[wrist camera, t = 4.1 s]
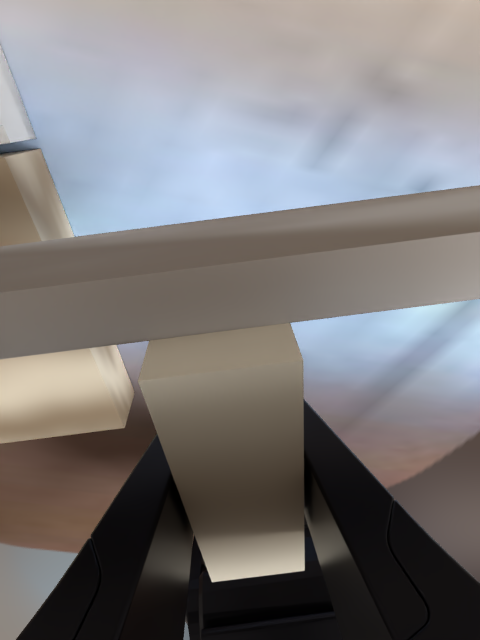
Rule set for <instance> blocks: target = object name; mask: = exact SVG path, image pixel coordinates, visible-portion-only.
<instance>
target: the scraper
mask: <svg viewBox="0 0 480 640" xmlns="http://www.w3.org/2000/svg"><path fill="white" fill-rule="evenodd" d="M474 299H480V185H479V186H471V187H463V188H455V189H447V190H439V191H431V192H424V193H416V194H408V195H400V196H392V197H384V198H376V199H369V200H361V201H353V202H345V203H337V204H329V205H321V206H314V207H306V208H298V209H290V210H282V211H274V212H267V213H259V214H251V215H243V216H235V217H227V218H219V219H212V220H204V221H196V222H188V223H180V224H172V225H164V226H157V227H149V228H141V229H133V230H125V231H117V232H109V233H102V234H94V235H86V236H78V237H70V238H62V239H55V240H47V241H39V242H31V243H23V244H15V245H7V246H0V359H8V358H16V357H23V356H31V355H39V354H47V353H55V352H63V351H71V350H79V349H87V348H95V347H102V346H110V345H118V344H126V343H134V342H142V341H149V343H148V347H147V350H146V354H145V358H144V361H143V365H142V368H141V372H140V375H139V379H138V383H139V386H140V388H141V391H142V394H143V396H144V399H145V402H146V405H147V407H148V410H149V413H150V415H151V418H152V421H153V424H154V426H155V429H156V432H157V434H158V437H159V440H160V443H161V445H162V448H163V451H164V453H165V456H166V459H167V462H168V464H169V467H170V470H171V472H172V475H173V478H174V481H175V483H176V486H177V489H178V491H179V494H180V497H181V500H182V502H183V505H184V508H185V511H186V513H187V516H188V519H189V521H190V524H191V527H192V530H193V532H194V535H195V538H196V540H197V543H198V546H199V549H200V551H201V554H202V557H203V559H204V562H205V565H206V568H207V570H208V573H209V576H210V578H211V581H212V582H218V581H226V580H234V579H242V578H250V577H259V576H267V575H275V574H283V573H291V572H299V571H305V546H304V401H303V358H302V355H301V353H300V350H299V347H298V344H297V341H296V339H295V336H294V333H293V330H292V327H291V324H290V323H292V322H300V321H308V320H316V319H324V318H332V317H339V316H347V315H355V314H363V313H371V312H379V311H387V310H395V309H403V308H411V307H419V306H426V305H434V304H442V303H450V302H458V301H466V300H474Z"/></svg>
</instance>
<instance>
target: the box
mask: <svg viewBox="0 0 480 640" xmlns="http://www.w3.org/2000/svg"><path fill="white" fill-rule="evenodd" d="M30 139H36V136H35V133H34V131H33V128H32V126H31V123H30V120H29V118H28V115H27V113H26V110H25V107H24V105H23V102H22V100H21V97H20V95H19V92H18V89H17V87H16V84H15V82H14V79H13V76H12V74H11V71H10V69H9V66H8V63H7V61H6V58H5V56H4V53H3V51H2V48H1V45H0V144H6V143H13V142H19V141H25V140H30Z"/></svg>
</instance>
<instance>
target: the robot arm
mask: <svg viewBox="0 0 480 640" xmlns="http://www.w3.org/2000/svg"><path fill="white" fill-rule="evenodd" d="M303 401H304V546H305V571H299V572H291V573H283V574H275V575H267V576H259V577H250V578H242V579H234V580H226V581H218V582H212V581H211V578H210V576H209V573H208V570H207V568H206V565H205V562H204V559H203V557H202V554H201V551H200V549H199V546H198V543H197V540H196V538H195V535H194V539H193V533H194V532H193V530H192V527H191V524H190V521H189V519H188V516H187V513H186V511H185V508H184V505H183V502H182V500H181V497H180V494H179V491H178V489H177V486H176V483H175V481H174V478H173V475H172V472H171V470H170V467H169V464H168V462H167V459H166V456H165V453H164V451H163V448H162V445H161V443H160V440H159V437H158V434H156V436H155V437H154V439H153V440H152V442H151V443H150V445H149V446H148V448H147V449H146V451H145V452H144V454H143V456H142V457H141V459H140V460H139V462H138V463H137V465H136V466H135V468H134V469H133V471H132V472H131V474H130V475H129V477H128V479H127V480H126V482H125V483H124V485H123V486H122V488H121V489H120V491H119V492H118V494H117V495H116V497H115V498H114V500H113V501H112V503H111V505H110V506H109V508H108V509H107V511H106V512H105V514H104V515H103V517H102V518H101V520H100V521H99V523H98V524H97V526H96V528H95V529H94V531H93V532H92V534H91V538H89V539H87V541H86V543H85V544H84V546H83V547H82V549H81V550H80V552H79V553H78V555H77V556H76V558H75V559H74V561H73V562H72V564H71V565H70V567H69V568H68V570H67V571H66V573H65V574H64V575H63V577H62V578H61V580H60V581H59V583H58V584H57V586H56V587H55V588H54V590H53V591H52V592H51V594H50V595H49V596H48V598H47V599H46V600H45V602H44V603H43V604H42V606H41V607H40V609H39V610H38V611H37V613H36V614H35V615H34V617H33V618H32V619H31V621H30V622H29V623H28V624H27V626H26V627H25V628H24V630H23V631H22V632H21V634H20V635H19V636H18V638H17V639H16V640H183V637H184V627H185V622H186V623H187V625H188V629H189V636H190V640H480V582H479V581H477V580H476V579H475V578H474V577H473V576H472V575H471V574H470V573H469V572H468V571H466V570H465V569H464V568H463V567H462V566H461V565H460V564H459V563H458V562H457V561H456V560H455V559H454V558H452V556H451V555H449V554H448V553H447V552H446V551H445V550H444V549H443V548H442V547H441V546H440V545H439V544H438V543H437V542H436V541H435V540H434V539H433V538H432V537H431V536H430V535H429V534H428V533H427V532H426V531H425V530H424V529H423V528H422V527H421V526H420V525H419V524H418V523H417V522H416V521H415V520H414V519H413V518H412V517H411V515H410V514H409V513H408V512H407V511H406V510H405V509H404V508H403V507H402V506H401V504H400V503H399V502H398V501H397V500H394V497H393V496H392V495H391V494H390V493H389V492H388V490H387V489H386V488H385V487H384V486H383V485H382V484H381V483H380V482H379V481H378V480H377V478H376V477H375V476H374V475H373V474H372V473H371V472H370V471H369V470H368V469H367V468H366V466H365V465H364V464H363V463H362V462H361V461H360V460H359V459H358V458H357V457H356V456H355V454H354V453H353V452H352V451H351V450H350V449H349V448H348V447H347V446H346V445H345V444H344V442H343V441H342V440H341V439H340V438H339V437H338V436H337V435H336V434H335V433H334V432H333V430H332V429H331V428H330V427H329V426H328V425H327V424H326V423H325V422H324V421H323V420H322V418H321V417H320V416H319V415H318V414H317V413H316V412H315V411H314V410H313V409H312V408H311V406H310V405H309V404H308V403H307V402H306V401H305V400H304V399H303ZM192 543H193V546H192Z"/></svg>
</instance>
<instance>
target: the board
mask: <svg viewBox="0 0 480 640" xmlns="http://www.w3.org/2000/svg"><path fill="white" fill-rule="evenodd" d="M70 237H74V234H73V232H72V229H71V226H70V224H69V221H68V219H67V216H66V214H65V211H64V208H63V206H62V203H61V201H60V198H59V195H58V193H57V190H56V188H55V185H54V182H53V180H52V177H51V175H50V172H49V170H48V167H47V164H46V162H45V159H44V157H43V154H42V151H41V149H34V150H26V151H18V152H11V153H3V154H0V246H7V245H15V244H23V243H31V242H39V241H47V240H55V239H62V238H70ZM134 393H135V392H134V389H133V387H132V384H131V382H130V379H129V377H128V374H127V371H126V369H125V366H124V364H123V361H122V358H121V356H120V353H119V351H118V348H117V345H110V346H102V347H95V348H87V349H79V350H71V351H63V352H55V353H47V354H39V355H31V356H23V357H16V358H8V359H0V444H1V443H9V442H16V441H24V440H32V439H40V438H48V437H56V436H64V435H72V434H80V433H88V432H96V431H104V430H112V429H120V428H125V425H126V422H127V418H128V415H129V411H130V407H131V404H132V400H133V397H134Z"/></svg>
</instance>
